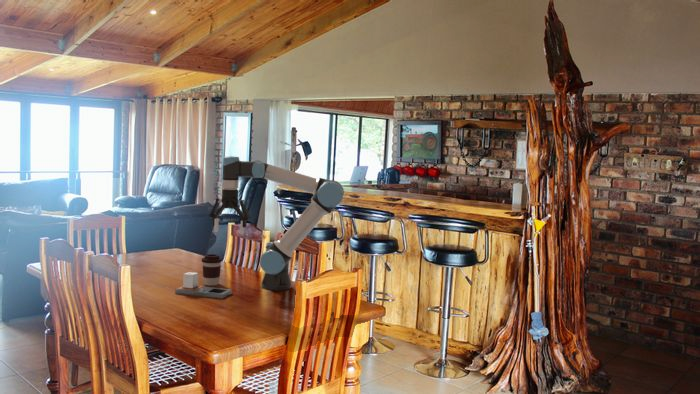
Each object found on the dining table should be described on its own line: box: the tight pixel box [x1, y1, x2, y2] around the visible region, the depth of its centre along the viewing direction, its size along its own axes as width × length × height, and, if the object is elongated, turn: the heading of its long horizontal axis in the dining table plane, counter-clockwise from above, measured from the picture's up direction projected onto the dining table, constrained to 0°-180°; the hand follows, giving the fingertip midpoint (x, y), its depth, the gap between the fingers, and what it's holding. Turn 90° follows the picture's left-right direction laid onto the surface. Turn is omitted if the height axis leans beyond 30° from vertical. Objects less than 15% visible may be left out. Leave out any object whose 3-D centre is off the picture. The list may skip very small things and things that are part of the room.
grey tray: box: [174, 285, 233, 300], centre depth 277 cm, size 24×10×3 cm, turn 76°
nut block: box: [182, 271, 199, 290], centre depth 278 cm, size 5×5×9 cm
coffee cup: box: [201, 253, 223, 286], centre depth 296 cm, size 10×10×15 cm
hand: (229, 233), depth 281 cm, fingers open, 13 cm apart
